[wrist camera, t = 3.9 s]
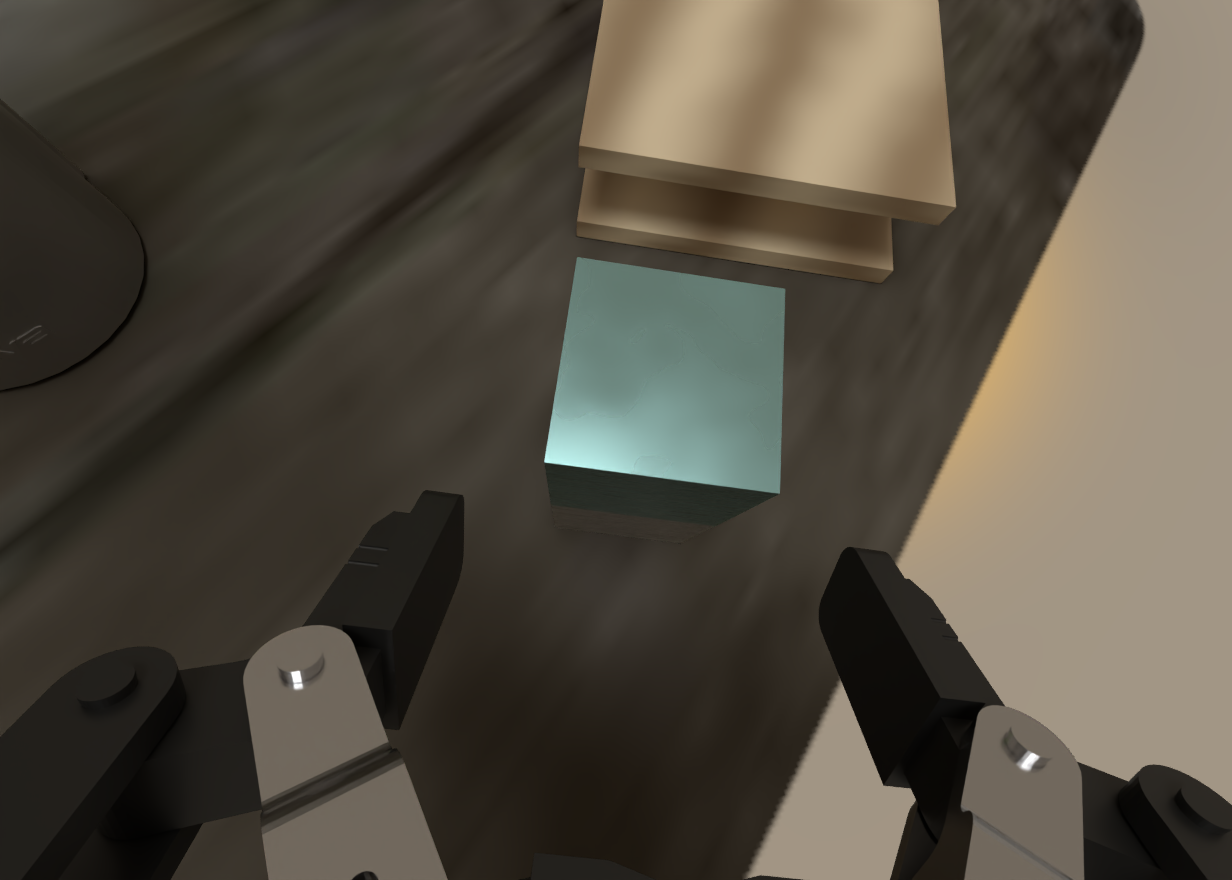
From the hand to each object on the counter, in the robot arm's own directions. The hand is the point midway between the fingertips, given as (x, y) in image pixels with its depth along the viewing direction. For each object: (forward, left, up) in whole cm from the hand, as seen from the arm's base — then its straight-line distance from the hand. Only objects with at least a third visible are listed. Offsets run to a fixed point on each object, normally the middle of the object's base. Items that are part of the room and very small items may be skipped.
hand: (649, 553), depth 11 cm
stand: (-17, +14, -9) cm, 23 cm away
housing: (-3, +2, -9) cm, 10 cm away
